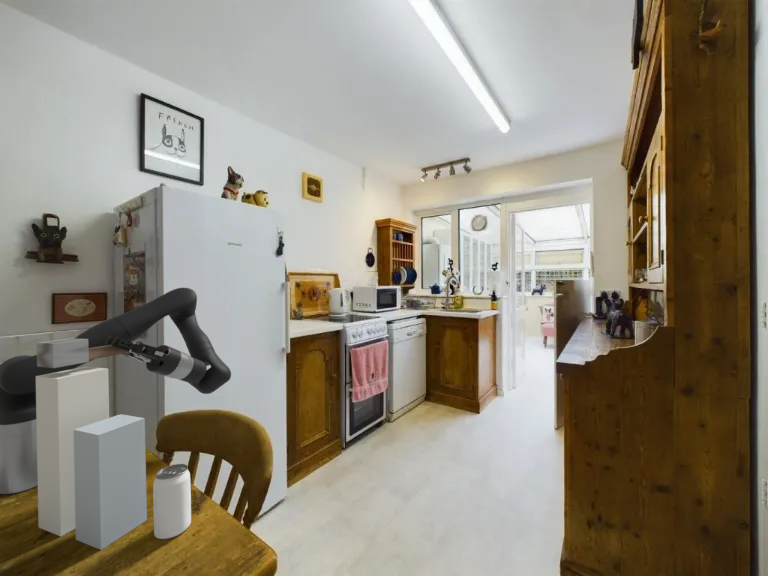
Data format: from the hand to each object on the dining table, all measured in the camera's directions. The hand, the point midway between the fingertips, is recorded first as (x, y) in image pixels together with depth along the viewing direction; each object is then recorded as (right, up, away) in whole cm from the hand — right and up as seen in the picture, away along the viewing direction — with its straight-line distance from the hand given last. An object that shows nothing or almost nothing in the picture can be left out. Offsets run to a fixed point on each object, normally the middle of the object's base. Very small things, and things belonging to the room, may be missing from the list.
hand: (111, 340), depth 79 cm
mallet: (-1, -4, -3) cm, 5 cm away
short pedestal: (+10, -38, -11) cm, 40 cm away
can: (+22, -37, -11) cm, 45 cm away
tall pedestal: (-2, -38, -7) cm, 39 cm away
